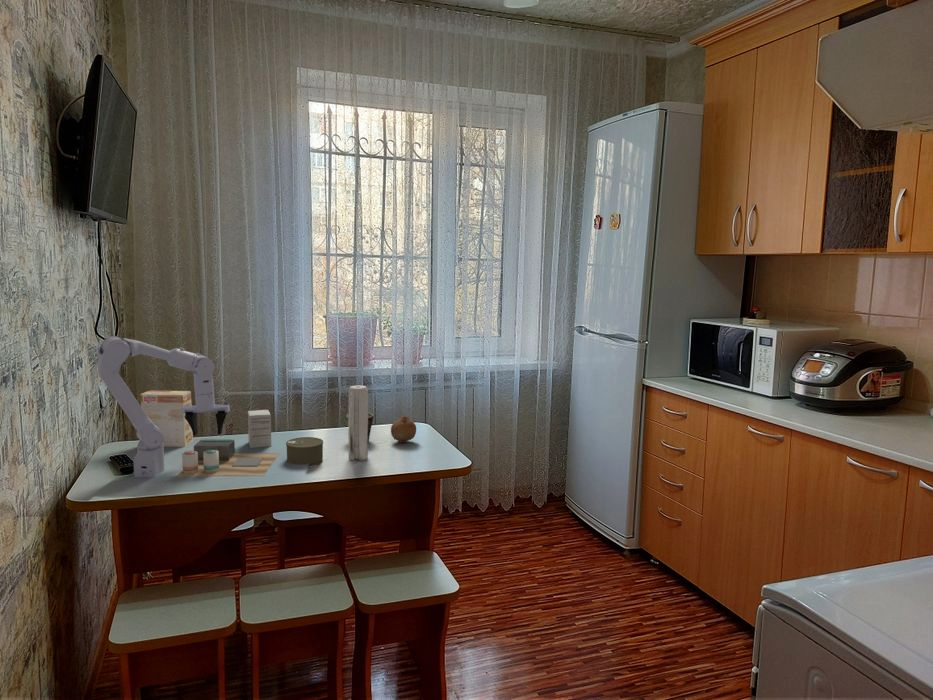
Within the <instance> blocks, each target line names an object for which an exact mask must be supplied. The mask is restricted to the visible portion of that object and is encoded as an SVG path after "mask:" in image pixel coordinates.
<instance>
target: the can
mask: <svg viewBox="0 0 933 700" xmlns="http://www.w3.org/2000/svg"><path fill="white" fill-rule="evenodd" d="M285 445H286V461H287V462H288V463H291V464H293V465H308V466H307V467H308V468H311V467H310V466H312V467H315V465H316V466H319V465H321V464H322V463H323V462H324V457H323V456H324V455H323V454H324V453H323V452H324V450H323V449H324V440H323V439H321V438H319V437H313V436H305V437H304V436H303V437H295V438H292V439H289V440H287V441H286V442H285ZM320 463H321V464H320ZM318 464H319V465H318Z"/></svg>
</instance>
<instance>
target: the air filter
mask: <svg viewBox="0 0 933 700" xmlns="http://www.w3.org/2000/svg"><path fill="white" fill-rule="evenodd" d="M347 394H348V398H347V399H348V403H347V404H348V410H347V411H348V412H347V414H348V418H349V427H348V460H350V461H351V460H352V461H351V462H364V461H367V460H368V458H369V442H368V413H369V389H368V386H365V385H351V386H349V389H348V392H347ZM366 459H367V460H366ZM363 460H364V461H363Z"/></svg>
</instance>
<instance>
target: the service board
mask: <svg viewBox="0 0 933 700" xmlns="http://www.w3.org/2000/svg"><path fill="white" fill-rule="evenodd" d="M279 454H280V453H279V452H269V453H268V452H263V453H262V452H260V453H259V452H252V453H251V452H247V453H246V452H245V453H243V452H242V453H241V452H237V453H236V452H235V455H234V456H233V457H232V458H231V459H230V460H229V461H219V471H218V472H214V473H205V472H204V461H198V472H197V473H194V474H184V473H183V469H182V470H181V471H180V472H179V473H178V474H177V475H176V477H264V476H265V475H266V473H267V472H268V471H269V469H270V467H271V466H272V465H273V463H274V462H275V460H277V459H276V458H277V457H278V456H279ZM238 458H263V460H262V461H261V462H260V464H259V465H258V466H232V465H233V463H234V462H235V461H236V460H237V459H238Z"/></svg>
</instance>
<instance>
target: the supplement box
mask: <svg viewBox="0 0 933 700" xmlns="http://www.w3.org/2000/svg"><path fill="white" fill-rule="evenodd" d="M247 426H248V427H247V428H248V430H247V431H248V432H247V433H248V435H247V436H248V444H249V447H250V449H251V448H253V449H254V448H261V447H262V448H263V447H271V446H272V415H271V413H270V411H269V409H257V410H248V411H247Z"/></svg>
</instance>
